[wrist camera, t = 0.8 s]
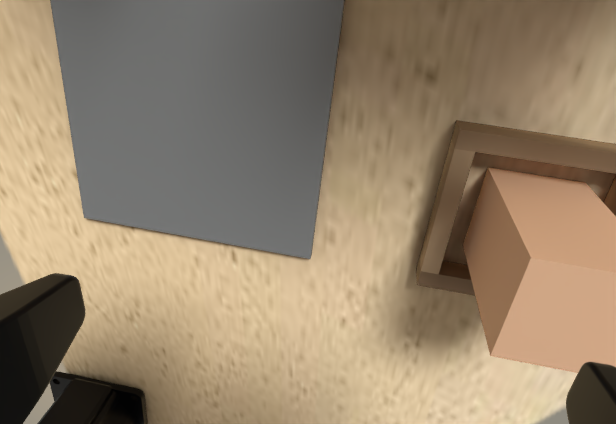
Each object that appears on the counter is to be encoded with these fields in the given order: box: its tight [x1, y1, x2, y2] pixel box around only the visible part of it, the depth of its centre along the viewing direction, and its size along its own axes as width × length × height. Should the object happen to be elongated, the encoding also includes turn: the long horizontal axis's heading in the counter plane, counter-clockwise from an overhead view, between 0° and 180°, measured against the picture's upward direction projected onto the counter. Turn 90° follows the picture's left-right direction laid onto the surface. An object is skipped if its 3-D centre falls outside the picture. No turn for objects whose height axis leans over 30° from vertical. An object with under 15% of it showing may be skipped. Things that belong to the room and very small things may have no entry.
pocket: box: [416, 121, 616, 295], centre depth 20 cm, size 8×8×1 cm
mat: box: [50, 0, 345, 259], centre depth 20 cm, size 12×12×1 cm
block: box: [463, 167, 616, 373], centre depth 17 cm, size 4×4×7 cm
